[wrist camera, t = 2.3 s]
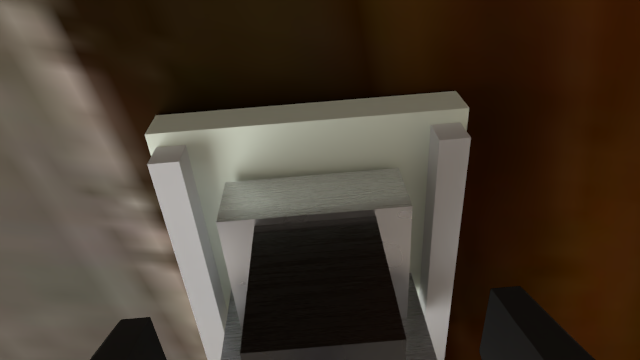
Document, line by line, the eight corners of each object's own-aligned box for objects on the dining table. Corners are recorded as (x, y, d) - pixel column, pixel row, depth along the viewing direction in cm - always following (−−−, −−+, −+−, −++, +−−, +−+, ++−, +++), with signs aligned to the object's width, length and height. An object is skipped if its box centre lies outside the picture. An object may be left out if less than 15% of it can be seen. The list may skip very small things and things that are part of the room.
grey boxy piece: (409, 298, 16) (458, 473, 11) (237, 313, 16) (214, 493, 11) (416, 166, 13) (485, 325, 8) (207, 183, 13) (158, 352, 8)
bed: (433, 325, 19) (448, 372, 17) (219, 343, 19) (211, 392, 17) (455, 90, 13) (480, 122, 12) (155, 115, 13) (134, 151, 12)
